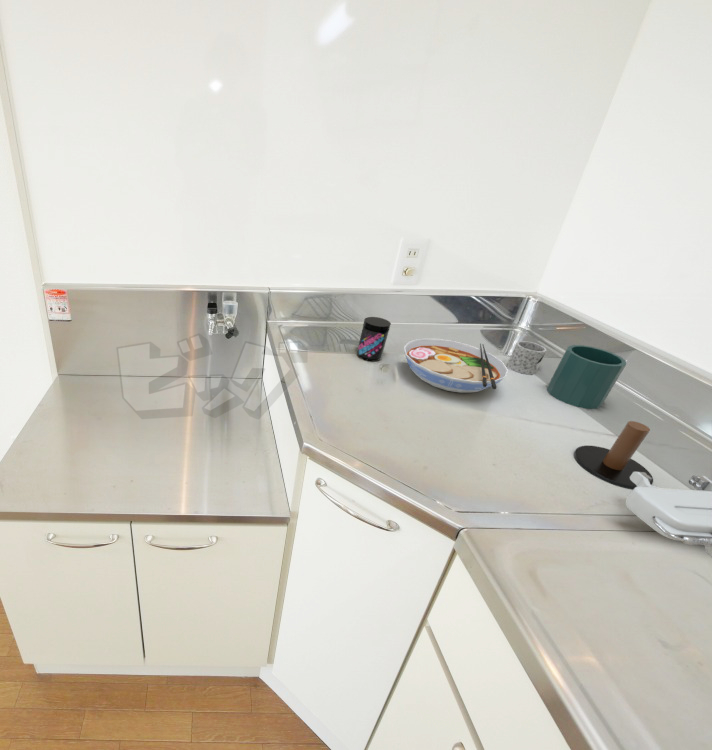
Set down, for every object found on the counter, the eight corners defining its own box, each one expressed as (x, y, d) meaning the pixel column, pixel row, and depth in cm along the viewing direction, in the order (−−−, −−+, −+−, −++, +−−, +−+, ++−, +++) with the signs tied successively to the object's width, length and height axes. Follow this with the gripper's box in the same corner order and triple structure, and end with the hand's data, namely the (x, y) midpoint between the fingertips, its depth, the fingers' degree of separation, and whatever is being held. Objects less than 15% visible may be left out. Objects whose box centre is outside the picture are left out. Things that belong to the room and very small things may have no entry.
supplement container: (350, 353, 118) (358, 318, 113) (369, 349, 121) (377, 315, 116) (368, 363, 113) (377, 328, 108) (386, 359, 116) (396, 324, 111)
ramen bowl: (401, 353, 120) (409, 327, 115) (493, 374, 111) (505, 346, 107) (389, 394, 100) (398, 363, 96) (500, 423, 91) (515, 391, 87)
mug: (539, 376, 111) (550, 353, 108) (511, 371, 113) (521, 349, 109) (527, 359, 119) (537, 338, 116) (501, 355, 121) (510, 334, 118)
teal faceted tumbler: (585, 394, 104) (611, 349, 97) (606, 418, 95) (636, 369, 89) (537, 387, 106) (560, 342, 100) (553, 408, 97) (579, 361, 91)
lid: (629, 457, 83) (658, 415, 78) (664, 498, 73) (700, 453, 68) (562, 444, 86) (586, 403, 80) (587, 483, 76) (617, 438, 71)
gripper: (662, 557, 59) (591, 486, 71) (814, 568, 59) (716, 494, 71) (689, 526, 56) (610, 457, 68) (850, 537, 55) (741, 465, 67)
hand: (665, 476), depth 69 cm, fingers open, 8 cm apart
